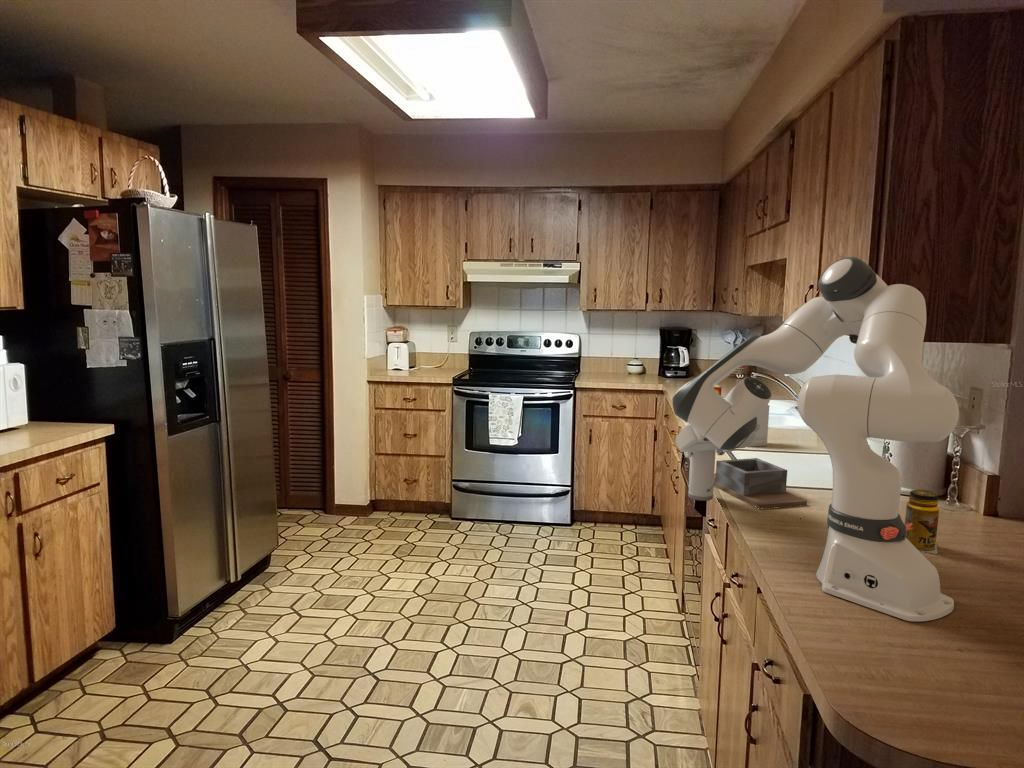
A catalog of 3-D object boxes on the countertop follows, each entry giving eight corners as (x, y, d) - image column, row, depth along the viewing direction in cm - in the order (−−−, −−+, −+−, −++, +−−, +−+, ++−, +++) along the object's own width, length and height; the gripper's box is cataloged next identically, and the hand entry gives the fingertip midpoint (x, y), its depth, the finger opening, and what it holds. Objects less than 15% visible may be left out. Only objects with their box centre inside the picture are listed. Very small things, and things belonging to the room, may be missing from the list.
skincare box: (758, 442, 242) (760, 401, 240) (767, 446, 236) (770, 404, 234) (737, 443, 240) (739, 402, 238) (746, 447, 235) (749, 405, 232)
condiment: (937, 554, 141) (943, 499, 139) (891, 546, 145) (896, 492, 144) (936, 543, 147) (941, 490, 146) (891, 536, 152) (896, 484, 150)
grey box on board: (806, 505, 172) (808, 477, 171) (759, 509, 168) (761, 481, 167) (740, 475, 199) (742, 451, 198) (699, 478, 195) (700, 454, 194)
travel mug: (715, 502, 174) (719, 426, 171) (688, 500, 175) (692, 424, 172) (713, 494, 180) (717, 421, 177) (687, 493, 181) (691, 420, 178)
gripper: (758, 412, 170) (733, 441, 181) (686, 416, 165) (664, 445, 175) (768, 433, 167) (742, 462, 178) (695, 438, 161) (672, 467, 172)
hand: (703, 454), depth 176 cm, fingers open, 8 cm apart
